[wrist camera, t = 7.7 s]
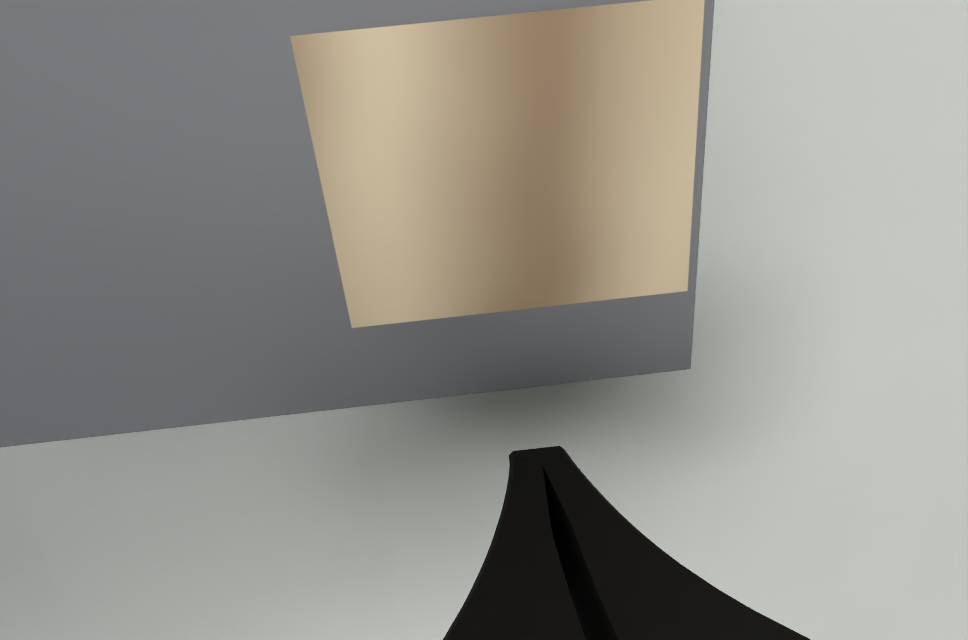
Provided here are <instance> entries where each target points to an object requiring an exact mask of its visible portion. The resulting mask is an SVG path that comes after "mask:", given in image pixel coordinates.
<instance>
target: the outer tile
mask: <svg viewBox="0 0 968 640" xmlns="http://www.w3.org/2000/svg"><path fill="white" fill-rule="evenodd" d="M704 3H705V0H650V1H639V2H629V3H619V4H609V5H599V6H589V7H579V8H569V9H559V10H548V11H538V12H528V13H518V14H508V15H498V16H488V17H478V18H467V19H457V20H447V21H437V22H427V23H417V24H407V25H397V26H387V27H376V28H366V29H356V30H346V31H336V32H326V33H316V34H306V35H295V36H290V39H291V44H292V48H293V53H294V58H295V62H296V67H297V72H298V77H299V81H300V86H301V91H302V96H303V100H304V105H305V110H306V114H307V119H308V124H309V129H310V133H311V138H312V143H313V147H314V152H315V157H316V162H317V166H318V171H319V176H320V181H321V185H322V190H323V195H324V199H325V204H326V209H327V214H328V218H329V223H330V228H331V232H332V237H333V242H334V247H335V251H336V256H337V261H338V266H339V270H340V275H341V280H342V284H343V289H344V294H345V299H346V303H347V308H348V313H349V317H350V322H351V327H352V328H357V327H366V326H375V325H384V324H393V323H402V322H411V321H420V320H429V319H438V318H448V317H457V316H466V315H475V314H484V313H493V312H502V311H511V310H520V309H529V308H538V307H547V306H556V305H565V304H574V303H583V302H592V301H601V300H610V299H619V298H629V297H638V296H647V295H656V294H665V293H674V292H683V291H688V274H689V257H690V240H691V223H692V206H693V189H694V172H695V155H696V138H697V121H698V105H699V88H700V71H701V54H702V37H703V20H704Z"/></svg>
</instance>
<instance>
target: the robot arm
mask: <svg viewBox="0 0 968 640" xmlns="http://www.w3.org/2000/svg"><path fill="white" fill-rule="evenodd" d="M509 461H510V469H509V478H508V485H507V490H506V495H505V499H504V503H503V508H502V512H501V515H500V518H499V521H498V525H497V528H496V531H495V534H494V537H493V540H492V543H491V545H490V548H489V551H488V553H487V556H486V558H485V561H484V563H483V565H482V568H481V570H480V572H479V574H478V576H477V578H476V581H475V583H474V585H473V587H472V589H471V591H470V593H469V595H468V597H467V599H466V601H465V603H464V605H463V606H462V608H461V610H460V612H459V613H458V615H457V617H456V618H455V620H454V622H453V623H452V625H451V627H450V629H449V630H448V632H447V634H446V635H445V637H444V639H443V640H810V639H809V638H807V637H805V636H803V635H801V634H799V633H797V632H795V631H793V630H791V629H789V628H787V627H785V626H783V625H781V624H779V623H777V622H775V621H773V620H772V619H770V618H768V617H766V616H764V615H762V614H760V613H758V612H756V611H754V610H752V609H751V608H749V607H747V606H745V605H744V604H742V603H740V602H739V601H737V600H735V599H734V598H732V597H730V596H728V595H727V594H725V593H723V592H722V591H720V590H718V589H717V588H715V587H714V586H712V585H711V584H709V583H708V582H706V581H705V580H703V579H702V578H700V577H699V576H697V575H696V574H694V573H693V572H691V571H690V570H688V569H687V568H686V567H684V566H683V565H681V564H680V563H678V562H677V561H676V560H674V559H673V558H672V557H670V556H669V555H668V554H666V553H665V552H664V551H663V550H661V549H660V548H659V547H658V546H656V545H655V544H654V543H653V542H651V541H650V540H649V539H648V538H647V537H645V536H644V535H643V534H642V533H641V532H640V531H639V530H637V529H636V528H635V527H634V526H633V525H632V524H631V523H630V522H629V521H628V520H627V519H626V518H624V517H623V516H622V515H621V514H620V513H619V512H618V511H617V510H616V509H615V508H614V507H613V506H612V505H611V504H610V503H609V502H608V501H607V500H606V499H605V498H604V496H603V495H602V494H601V493H600V492H599V491H598V490H597V489H596V488H595V487H594V486H593V485H592V483H591V482H590V481H589V480H588V479H587V478H586V477H585V475H584V474H583V473H582V472H581V471H580V469H579V468H578V467H577V466H576V464H575V463H574V462H573V461H572V459H571V458H570V457H569V455H568V454H567V453H566V451H565V450H564V449H563V448H562V447H561V446H555V447H546V448H537V449H528V450H519V451H513V452H512V453H511V454H510V455H509Z"/></svg>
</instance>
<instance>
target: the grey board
mask: <svg viewBox="0 0 968 640" xmlns="http://www.w3.org/2000/svg"><path fill="white" fill-rule="evenodd" d="M639 1H650V0H0V447H7V446H16V445H25V444H33V443H42V442H51V441H60V440H69V439H77V438H86V437H95V436H104V435H113V434H121V433H130V432H139V431H148V430H157V429H165V428H174V427H183V426H192V425H201V424H209V423H218V422H227V421H236V420H245V419H253V418H262V417H271V416H280V415H289V414H297V413H306V412H315V411H324V410H333V409H341V408H350V407H359V406H368V405H377V404H385V403H394V402H403V401H412V400H421V399H429V398H438V397H447V396H456V395H465V394H473V393H482V392H491V391H500V390H509V389H517V388H526V387H535V386H544V385H553V384H561V383H570V382H579V381H588V380H597V379H605V378H614V377H623V376H632V375H641V374H649V373H658V372H667V371H676V370H685V369H690V366H691V350H692V335H693V320H694V304H695V289H696V274H697V258H698V243H699V228H700V212H701V197H702V182H703V167H704V151H705V136H706V121H707V105H708V90H709V75H710V59H711V44H712V29H713V13H714V0H705V3H704V20H703V37H702V54H701V71H700V88H699V105H698V121H697V138H696V155H695V172H694V189H693V206H692V223H691V240H690V257H689V274H688V291H683V292H674V293H665V294H656V295H647V296H638V297H629V298H619V299H610V300H601V301H592V302H583V303H574V304H565V305H556V306H547V307H538V308H529V309H520V310H511V311H502V312H493V313H484V314H475V315H466V316H457V317H448V318H438V319H429V320H420V321H411V322H402V323H393V324H384V325H375V326H366V327H357V328H352V327H351V322H350V317H349V313H348V308H347V303H346V299H345V294H344V289H343V284H342V280H341V275H340V270H339V266H338V261H337V256H336V251H335V247H334V242H333V237H332V232H331V228H330V223H329V218H328V214H327V209H326V204H325V199H324V195H323V190H322V185H321V181H320V176H319V171H318V166H317V162H316V157H315V152H314V147H313V143H312V138H311V133H310V129H309V124H308V119H307V114H306V110H305V105H304V100H303V96H302V91H301V86H300V81H299V77H298V72H297V67H296V62H295V58H294V53H293V48H292V44H291V39H290V36H295V35H306V34H316V33H326V32H336V31H346V30H356V29H366V28H376V27H387V26H397V25H407V24H417V23H427V22H437V21H447V20H457V19H467V18H478V17H488V16H498V15H508V14H518V13H528V12H538V11H548V10H559V9H569V8H579V7H589V6H599V5H609V4H619V3H629V2H639Z"/></svg>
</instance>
